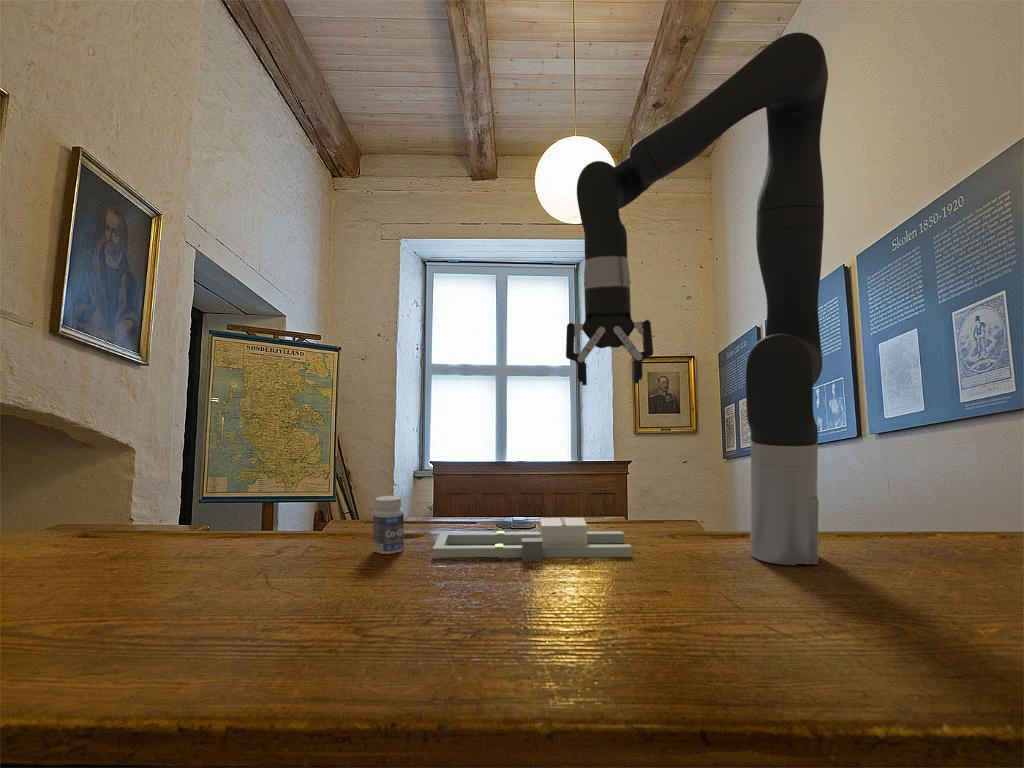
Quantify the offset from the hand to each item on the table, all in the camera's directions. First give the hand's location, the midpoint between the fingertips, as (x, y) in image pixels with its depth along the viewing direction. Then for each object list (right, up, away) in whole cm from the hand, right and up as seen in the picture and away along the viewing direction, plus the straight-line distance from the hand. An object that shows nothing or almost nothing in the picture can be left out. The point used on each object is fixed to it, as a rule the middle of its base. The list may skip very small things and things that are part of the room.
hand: (609, 384), depth 113 cm
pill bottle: (-36, -26, -6) cm, 45 cm away
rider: (-8, -26, -6) cm, 28 cm away
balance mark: (-18, -25, -6) cm, 31 cm away
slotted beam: (-13, -26, -6) cm, 30 cm away
